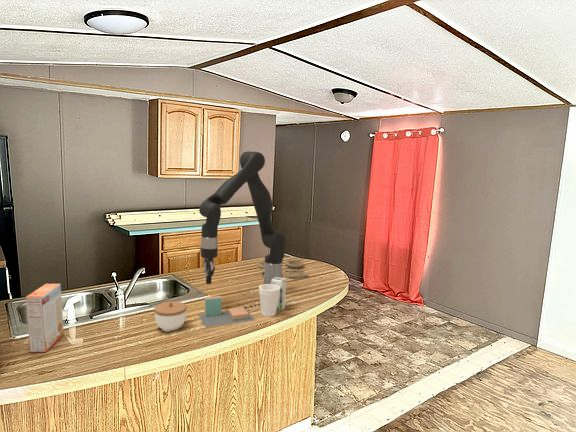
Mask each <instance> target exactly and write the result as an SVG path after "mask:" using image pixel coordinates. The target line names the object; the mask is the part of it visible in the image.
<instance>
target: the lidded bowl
mask: <svg viewBox="0 0 576 432" xmlns="http://www.w3.org/2000/svg"><path fill="white" fill-rule="evenodd" d="M187 307H188V306H187V304H186V303H184V302H181V301H165V302H161V303H158V304H156V306H155V307H154V308H153V309H154V319H155V322H156V325H157V327H158V328H160V329H161V331H162V332H165V333H170V332H171V331H177V330H178V329H180V328H182V326H183V325H184V323H185V321H186V317H187Z"/></svg>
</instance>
